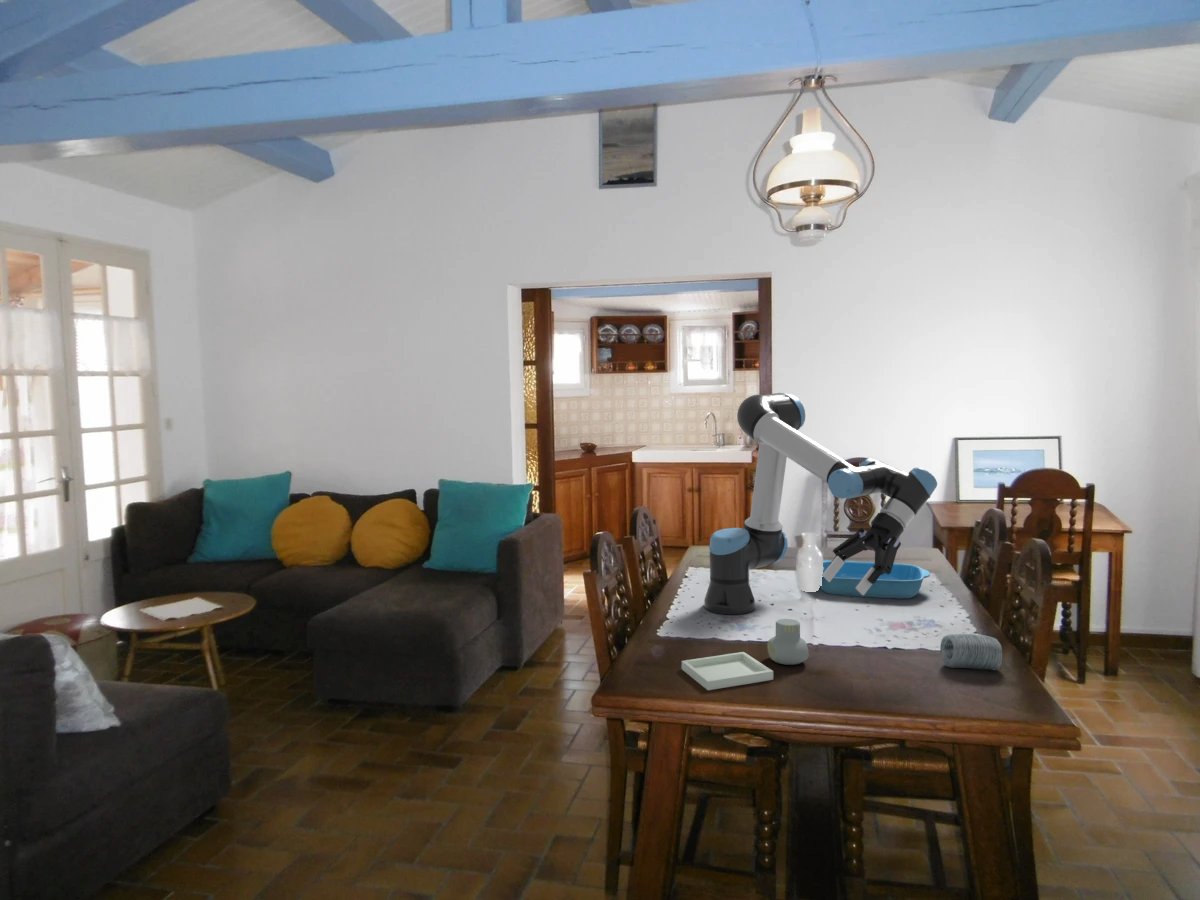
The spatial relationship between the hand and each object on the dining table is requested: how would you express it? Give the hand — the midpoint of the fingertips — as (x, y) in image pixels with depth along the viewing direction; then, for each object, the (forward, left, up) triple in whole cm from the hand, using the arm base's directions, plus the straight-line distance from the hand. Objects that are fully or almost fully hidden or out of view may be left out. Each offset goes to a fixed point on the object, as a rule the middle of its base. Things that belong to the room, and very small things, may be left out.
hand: (842, 585), depth 206 cm
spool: (+19, +23, -18) cm, 35 cm away
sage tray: (+1, -33, -18) cm, 38 cm away
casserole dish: (-46, +43, -18) cm, 66 cm away
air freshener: (-1, -15, -18) cm, 24 cm away
